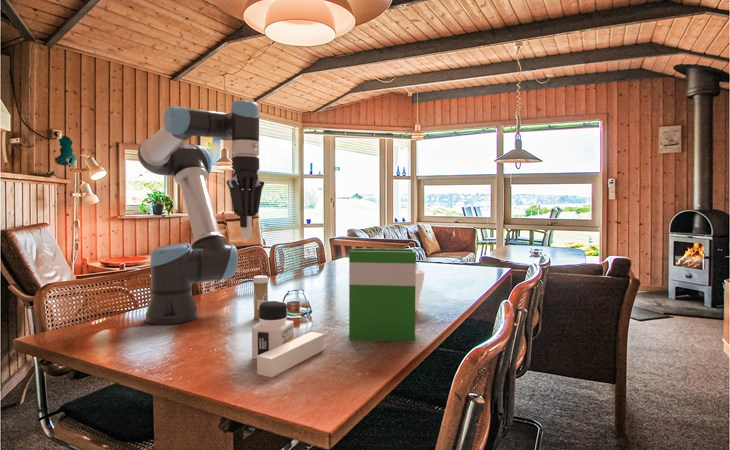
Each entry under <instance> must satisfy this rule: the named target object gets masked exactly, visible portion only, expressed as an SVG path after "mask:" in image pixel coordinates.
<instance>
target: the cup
mask: <svg viewBox="0 0 730 450" xmlns="http://www.w3.org/2000/svg"><path fill="white" fill-rule="evenodd" d="M424 278H425V271H424V270H422V269H416V283H415V313H416V312H417V311H418V308H419V307H418V306H419V302H420V301H419V300H420V297H421V292H422V289H423V285H424V280H425V279H424Z"/></svg>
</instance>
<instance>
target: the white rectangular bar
mask: <svg viewBox="0 0 730 450" xmlns="http://www.w3.org/2000/svg"><path fill="white" fill-rule="evenodd" d="M324 350H325V333H321V332H316V331H315V332H314V331H310V332H307V333H305V334H303V335H301V336H299V337H297V338H294V340H292V341H289V342H287V343H285V344H283V345H280V346H278V347H276V348H274V349H271V350H269V351H267V352H265V353H262V354H260V355H258V356H257V359H256V368H257V369H256V371H257V372H256V374H257V375H260V376H264V377H267V378H274V377H276V376H278V375H279V374H282V373H283V372H285V371H287V370H289V369H291V368H292V367H294V366H296V365H298V364H300V363H302V362H304V361H305V360H307V359H310V358H312V357H313V356H315V355H317V354H319V353H321V352H323V351H324Z"/></svg>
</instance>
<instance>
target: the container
mask: <svg viewBox="0 0 730 450" xmlns="http://www.w3.org/2000/svg"><path fill="white" fill-rule="evenodd" d="M287 306H288V304H287V303H286V302H285V301H282V300H268V301H266V302H264V303H262V304H260V306H259V320H258V321H259V323H257V324H255V325H254V326H252V327H251V358H252V360H257V356H258V355H260V354H262V353H265V352H267V351H269V350H271V349H274V348H276V347H278V346H280V345H283V344H285V343H287V342H289V341H292V340H294V339H295V335H294V334H295V332H294V331H295V329H294V326H295V324H294V321H293V320H288V308H287Z"/></svg>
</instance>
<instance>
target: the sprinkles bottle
mask: <svg viewBox="0 0 730 450" xmlns="http://www.w3.org/2000/svg"><path fill="white" fill-rule="evenodd" d="M252 281H253V319H254V320H257V321H259V306H260V304H262V303H264V302H266V301H269V295H268V293H269V291H268V289H269V288H268V284H269V276H267V275H254V276H253V280H252Z"/></svg>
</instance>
